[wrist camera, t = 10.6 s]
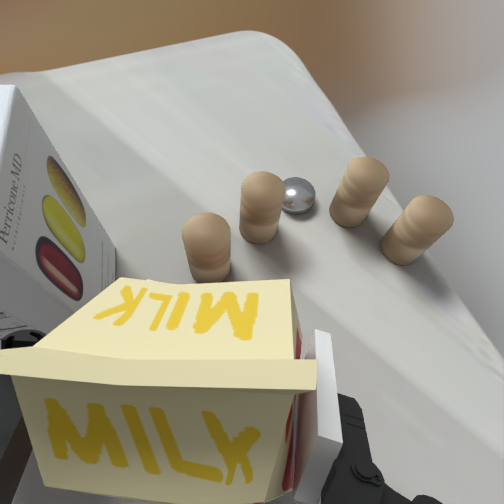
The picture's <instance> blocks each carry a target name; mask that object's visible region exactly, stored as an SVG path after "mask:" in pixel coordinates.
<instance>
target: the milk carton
mask: <svg viewBox="0 0 504 504" xmlns="http://www.w3.org/2000/svg"><path fill="white" fill-rule="evenodd" d="M301 344H302V333H301V328H300V324H299V319H298V315H297V310H296V306H295V301H294V297H293V292H292V288H291V283H290V279H281V280H261V281H241V282H222V283H202V284H182V285H179V284H171V283H163V282H155V281H147V280H139V279H131V278H123V277H120V278H119V279H117V280H116V281H115V282H114V283H112V284H111V285H110V286H109V287H107V288H106V289H105V290H103V291H102V292H101V293H100V294H98V295H97V296H96V297H95V298H93V299H92V300H91V301H89V302H88V303H87V304H86V305H84V306H83V307H82V308H81V309H79V310H78V311H77V312H76V313H74V314H73V315H72V316H70V317H69V318H68V319H67V320H65V321H64V322H63V323H62V324H60V325H59V326H58V327H56V328H55V329H54V330H53V331H51V332H50V333H49V334H48V335H46V336H45V337H44V338H43V339H41V340H40V341H39V342H37V343H36V344H35V345H34V346H32V347H22V348H12V349H2V350H0V374H7V375H11V378H12V381H13V385H14V388H15V391H16V395H17V398H18V401H19V404H20V408H21V411H22V414H23V418H24V421H25V424H26V427H27V431H28V434H29V437H30V441H31V444H32V447H33V451H34V454H35V457H36V460H37V464H38V467H39V470H40V474H41V477H42V480H43V483H44V486H45V487H52V488H58V489H64V490H70V491H76V492H83V493H89V494H95V495H101V496H107V497H113V498H120V499H126V500H132V501H138V502H144V503H151V504H261V503H266V502H269V501H271V500H273V499H276V498H278V497H280V496H282V495H285V494H287V493H289V492H291V491H292V488H293V421H294V407H295V398H296V394H300V393H305V392H309V391H313V390H316V381H317V366H318V359H300V353H301Z"/></svg>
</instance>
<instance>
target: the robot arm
mask: <svg viewBox="0 0 504 504" xmlns="http://www.w3.org/2000/svg"><path fill="white" fill-rule="evenodd" d="M147 281H153V280H149V279H147ZM155 282H156V281H155ZM45 336H46V334H45V333H43V332H41V331H38V330H32V329H29V330H19V331H14V332H12V333H10V334H7V335H6V336H5V337H3V338H2V339H1V350H2V349H12V348H22V347H32V346H34V345H35V344H36V343H37V342H39V341H40V340H41V339H43V338H44V337H45ZM305 359H318V366H317V381H316V390H313V391H309V392H305V393H300V394H298V408H297V429H296V450H295V472H294V493H293V499H294V500H296V501H299V502H302V503H305V504H318V501H319V499H320V496H321V504H442V503H441V502H439V501H438V500H436V499H434V498H433V497H430V496H426V495H417V496H416V497H415V498H414V499H413V501H410V500H409V499H407V498H405V497H404V496H402V495H400V494H399V493H397V492H396V491H394V490H393V489H391V488H390V487H389V486H388V485H387V484H385V483H384V478H383V476H382V473H381V471H380V470H379V469H378V468H377V466H376V465H375V464H374V463H372V458H371V453H370V448H369V443H368V438H367V433H366V431H365V429H366V428H365V423H364V418H363V413H362V409H361V408H360V406H359V404H358V403H357V401H356V400H355V399H354V398H351V397H348V396H345V395H342V394H338V393H337V387H336V378H335V369H334V361H333V352H332V343H331V334H330V333H327V332H324V331H320V330H317V329H315V330H314V333H313V336H312V339H311V342H310V345H309V348H308V351H307V354H306V356H305ZM32 449H33V447H32V444H31V441H30V437H29V434H28V431H27V427H26V424H25V421H24V418H23V414H22V411H21V408H20V404H19V401H18V398H17V395H16V391H15V388H14V385H13V381H12V378H11V375H7V374H0V504H11V502H12V500H13V497H14V495H15V492H16V489H17V487H18V484H19V482H20V479H21V477H22V474H23V472H24V469H25V466H26V464H27V461H28V459H29V456H30V454H31V451H32Z"/></svg>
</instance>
